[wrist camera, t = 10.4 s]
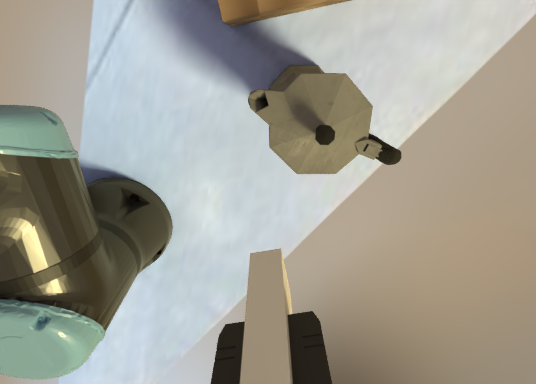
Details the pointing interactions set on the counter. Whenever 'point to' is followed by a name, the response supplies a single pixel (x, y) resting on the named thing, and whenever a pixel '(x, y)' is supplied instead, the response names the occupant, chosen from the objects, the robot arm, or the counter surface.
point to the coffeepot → (318, 121)
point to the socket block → (265, 9)
